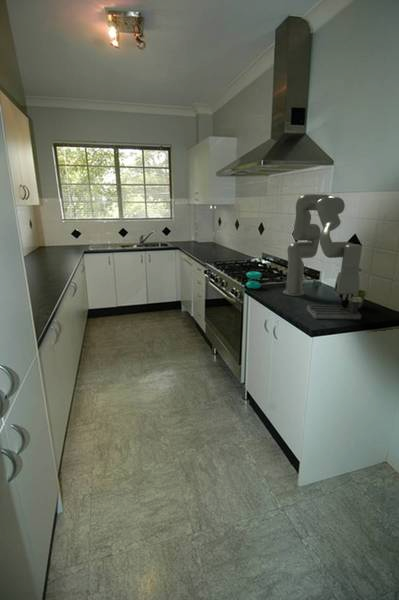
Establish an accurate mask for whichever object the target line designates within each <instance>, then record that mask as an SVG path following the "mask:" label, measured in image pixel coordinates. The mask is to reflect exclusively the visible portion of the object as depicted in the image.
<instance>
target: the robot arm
mask: <svg viewBox="0 0 399 600" xmlns="http://www.w3.org/2000/svg"><path fill="white" fill-rule="evenodd" d="M345 206H346V205H345V202H344V199H342V198H341V197H338V196H335V195H330V194H316V193H314V194H311V193H310V194H309V193H307V194H302V195H301V196H299V197H298V198H297V200H296V203H295V219H294V224H293V232H292V237H293V239H294V240H296V241H297V242H292V243H289V245H288V247H287V272H286V274H287V275H286V284H285V289H284V290H283V291H282V293H283V294H284V295H287V296H292V297H301V296H302V297H303V296H304V295H305V292H304V291H303V282H304V273H305V265H304V262H303V259H308V258H309V259H310V258H314V257H315V256H316V255H317V253H318V248H319V245H320V248H321V250H322V253H323V254H324V256H325V257H326V258H328V259H330V258H331V259H332V258H334V259H335V258H336V259H338V258H342V260H341V261H342V262H341V267H340V272H338V274H337V277H336V280H335V283H334V293H333V294H334V295H335V296H336V297H339V298H340V299H341V302H340V305H341V306H342V307H343V308H347V306H348V305H349V300H350V299H351V298H352V297H354V296H358V291H359V290H360V279H361V278H360V273H359V272H361V271H362V268H361V267H360V263H361V255H362V250H363V247H362V245H361V244H357V243H352V242H350V241H333V240H332V238H331V235H330V233H331V232H332V231H333V230H336V229H337V228H338V227H340V225H341V219H340V214H342V213H344V210H345V208H346V207H345ZM310 211H315V212H316V211H317V214H318V217H319V220H320V223H321V226H322V230H321V228H320V226H319V225H318V224H316V223H311V220H312V215H311V212H310ZM300 241H301V242H300ZM345 294H346V298H345Z"/></svg>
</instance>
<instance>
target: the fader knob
mask: <svg viewBox="0 0 399 600" xmlns="http://www.w3.org/2000/svg"><path fill="white" fill-rule="evenodd" d="M350 301H352V303H351V310H350V312H351V313H357V312H359V308H358V306H359V302H362V299H361V298H360V297H352V298H351V299H350Z"/></svg>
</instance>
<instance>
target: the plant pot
mask: <svg viewBox="0 0 399 600" xmlns="http://www.w3.org/2000/svg"><path fill="white" fill-rule="evenodd" d="M367 294H368V292H367V291H366V290H363V289H359V291H358V296H354V297H360V298H361V299H362V302H359V306H358V309H361V308H362V306H363V302H364V300H365V297H366V295H367ZM351 303H352V301H350V300H349V303H348V305H349V306H351Z"/></svg>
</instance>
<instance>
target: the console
mask: <svg viewBox="0 0 399 600" xmlns="http://www.w3.org/2000/svg"><path fill="white" fill-rule="evenodd" d="M306 310H307V312H308V313H309V314H310V315H311V316H312V318H314V319H316V320H318V319H319V320H323V319H324V320H327V319H328V320H361V319H362V314H361V313H360V312H359V311H358V312H357V313H351V312H350V310H351V306H349V304H348V306H347V308H341V304H307V306H306Z"/></svg>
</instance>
